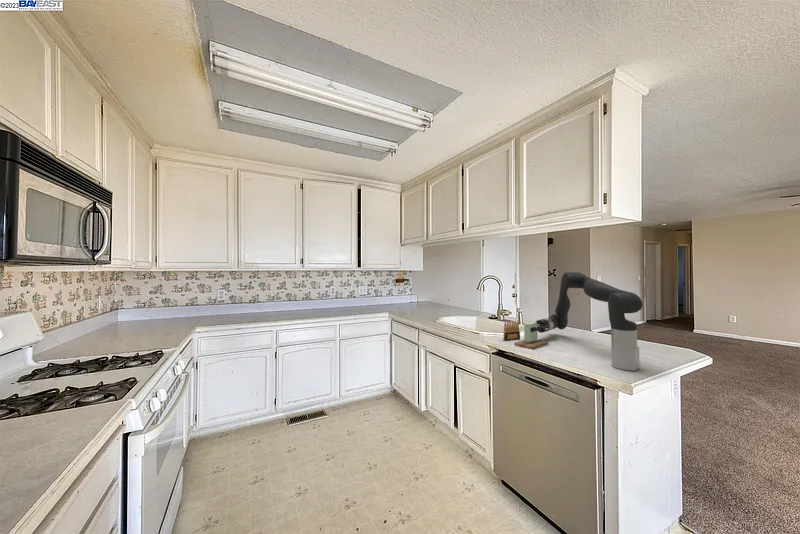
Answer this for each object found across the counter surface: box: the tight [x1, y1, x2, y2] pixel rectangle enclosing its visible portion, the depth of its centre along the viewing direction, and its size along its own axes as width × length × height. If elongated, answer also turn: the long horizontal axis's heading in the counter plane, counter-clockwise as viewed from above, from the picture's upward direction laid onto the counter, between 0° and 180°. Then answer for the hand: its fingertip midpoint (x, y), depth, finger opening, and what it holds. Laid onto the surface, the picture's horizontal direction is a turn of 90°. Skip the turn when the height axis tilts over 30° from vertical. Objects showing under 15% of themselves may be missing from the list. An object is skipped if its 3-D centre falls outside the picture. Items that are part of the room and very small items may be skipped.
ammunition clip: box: [503, 320, 521, 342], centre depth 183 cm, size 11×2×12 cm, turn 105°
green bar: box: [523, 321, 538, 342], centre depth 171 cm, size 3×8×10 cm, turn 125°
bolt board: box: [513, 339, 549, 351], centre depth 171 cm, size 12×15×2 cm
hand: (528, 329), depth 169 cm, fingers closed on green bar, 3 cm apart
